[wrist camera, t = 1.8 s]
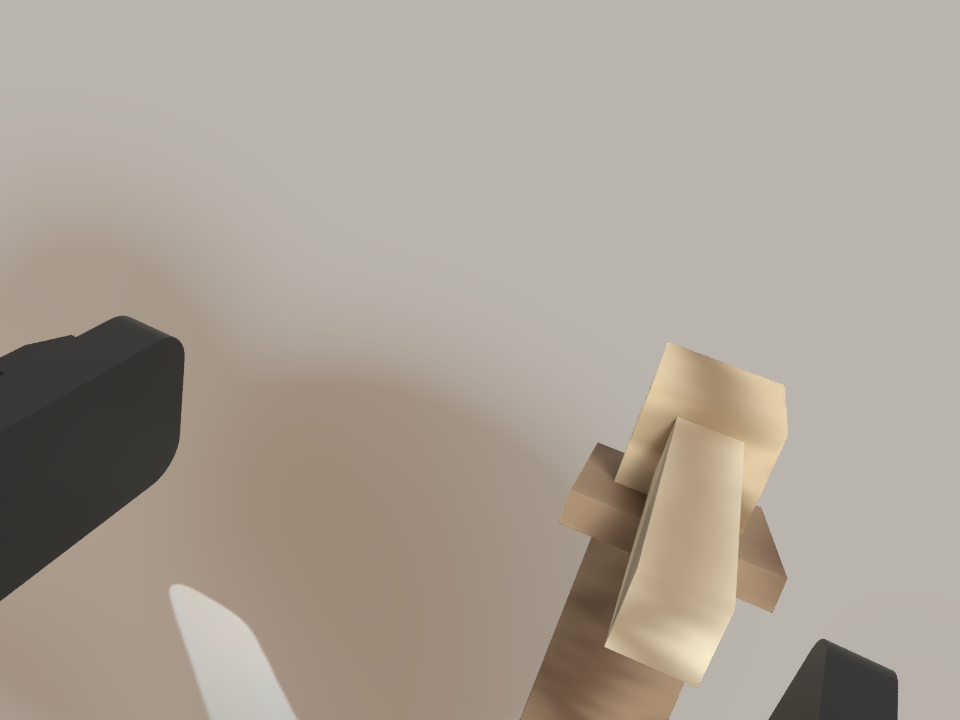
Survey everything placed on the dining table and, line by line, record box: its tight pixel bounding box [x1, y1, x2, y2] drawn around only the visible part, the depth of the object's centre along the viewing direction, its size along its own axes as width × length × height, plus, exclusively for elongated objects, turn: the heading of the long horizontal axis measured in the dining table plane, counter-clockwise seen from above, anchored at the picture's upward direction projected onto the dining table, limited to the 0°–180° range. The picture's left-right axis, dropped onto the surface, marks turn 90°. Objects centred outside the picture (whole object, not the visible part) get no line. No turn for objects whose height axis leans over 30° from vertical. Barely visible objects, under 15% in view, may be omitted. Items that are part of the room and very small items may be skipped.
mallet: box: [604, 342, 788, 688], centre depth 37 cm, size 6×20×5 cm, turn 166°
